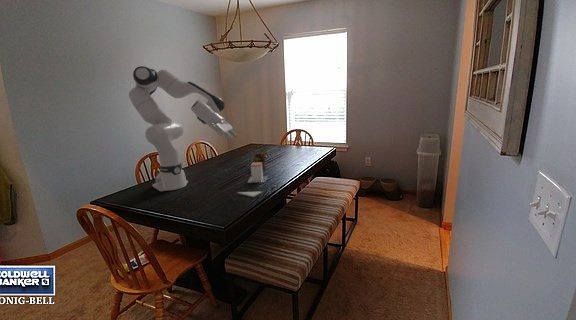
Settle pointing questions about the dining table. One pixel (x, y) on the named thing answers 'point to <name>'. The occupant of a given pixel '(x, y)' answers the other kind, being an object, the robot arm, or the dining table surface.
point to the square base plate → (257, 181)
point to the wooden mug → (261, 157)
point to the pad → (250, 193)
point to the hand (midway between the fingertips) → (234, 137)
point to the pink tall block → (257, 171)
